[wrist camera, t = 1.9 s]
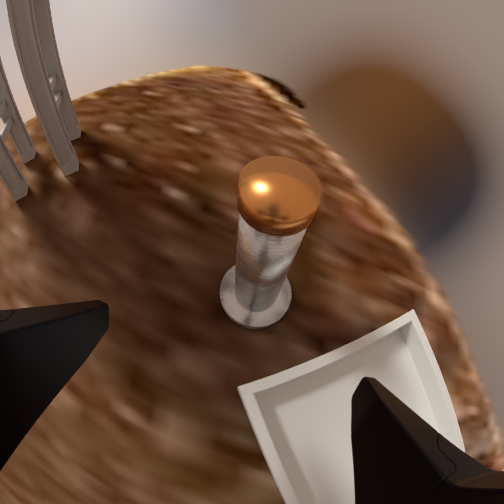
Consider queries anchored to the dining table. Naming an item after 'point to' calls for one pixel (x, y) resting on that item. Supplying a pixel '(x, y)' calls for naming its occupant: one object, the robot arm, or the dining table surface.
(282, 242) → the pin
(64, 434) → the dining table surface
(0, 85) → the stool
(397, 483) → the robot arm
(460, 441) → the pin tray
